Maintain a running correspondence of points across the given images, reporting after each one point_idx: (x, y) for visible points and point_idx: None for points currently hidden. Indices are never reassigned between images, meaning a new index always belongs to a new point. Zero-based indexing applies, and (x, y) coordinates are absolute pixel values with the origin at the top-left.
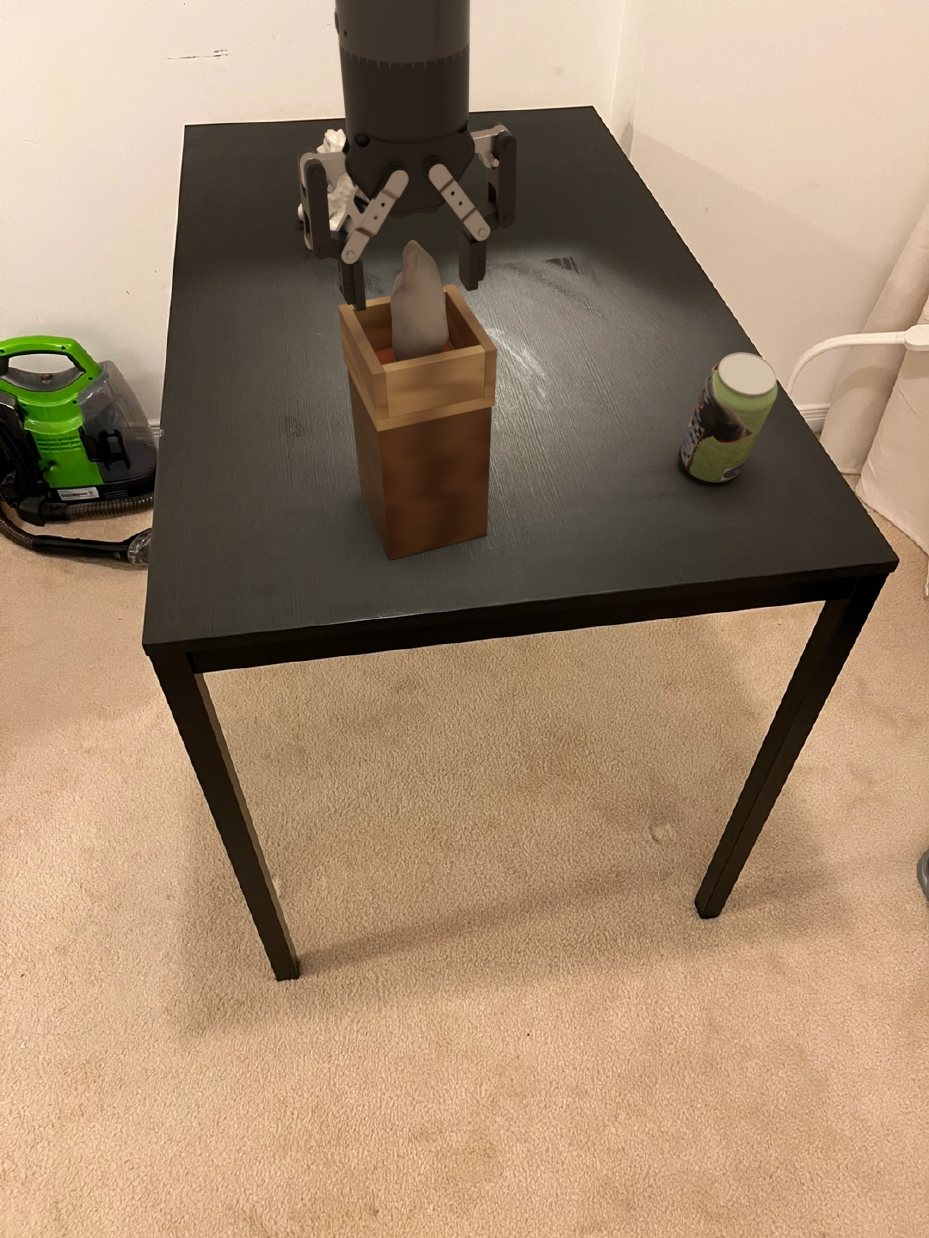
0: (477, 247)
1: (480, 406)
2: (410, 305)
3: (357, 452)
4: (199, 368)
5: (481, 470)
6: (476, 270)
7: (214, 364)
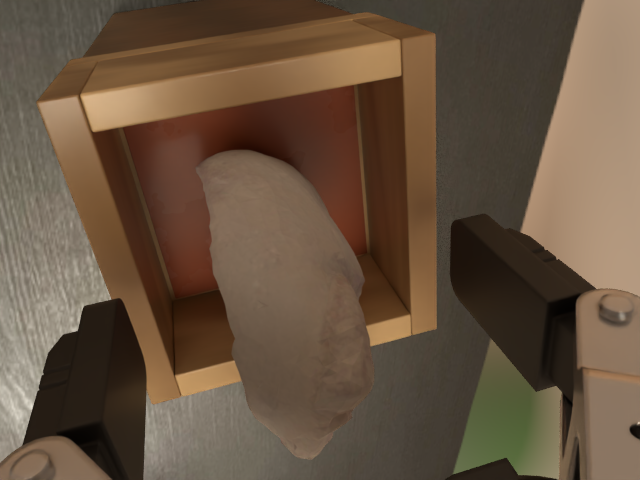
0: (67, 414)
1: (109, 55)
2: (325, 229)
3: None
4: (455, 381)
5: (116, 31)
6: (83, 346)
7: (438, 387)
